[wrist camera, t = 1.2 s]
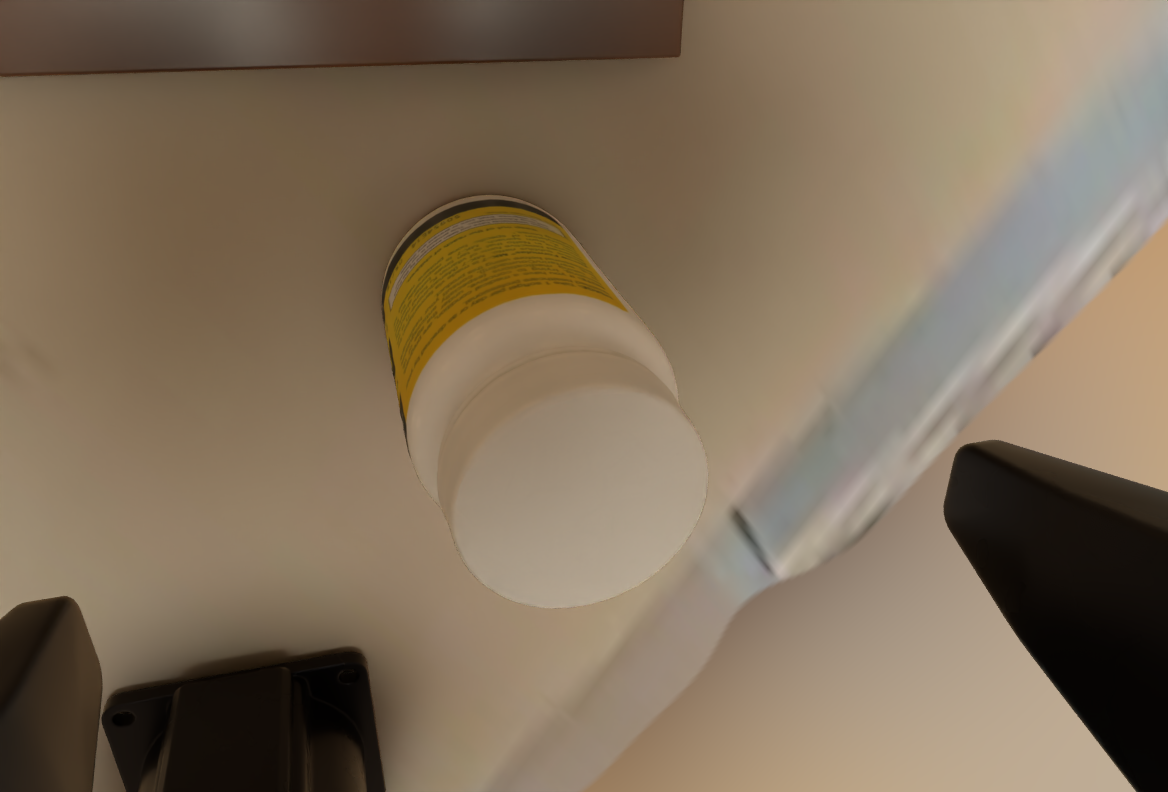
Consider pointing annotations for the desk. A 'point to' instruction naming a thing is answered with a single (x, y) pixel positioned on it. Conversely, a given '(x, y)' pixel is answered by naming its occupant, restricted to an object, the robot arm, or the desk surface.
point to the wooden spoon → (324, 33)
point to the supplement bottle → (537, 406)
